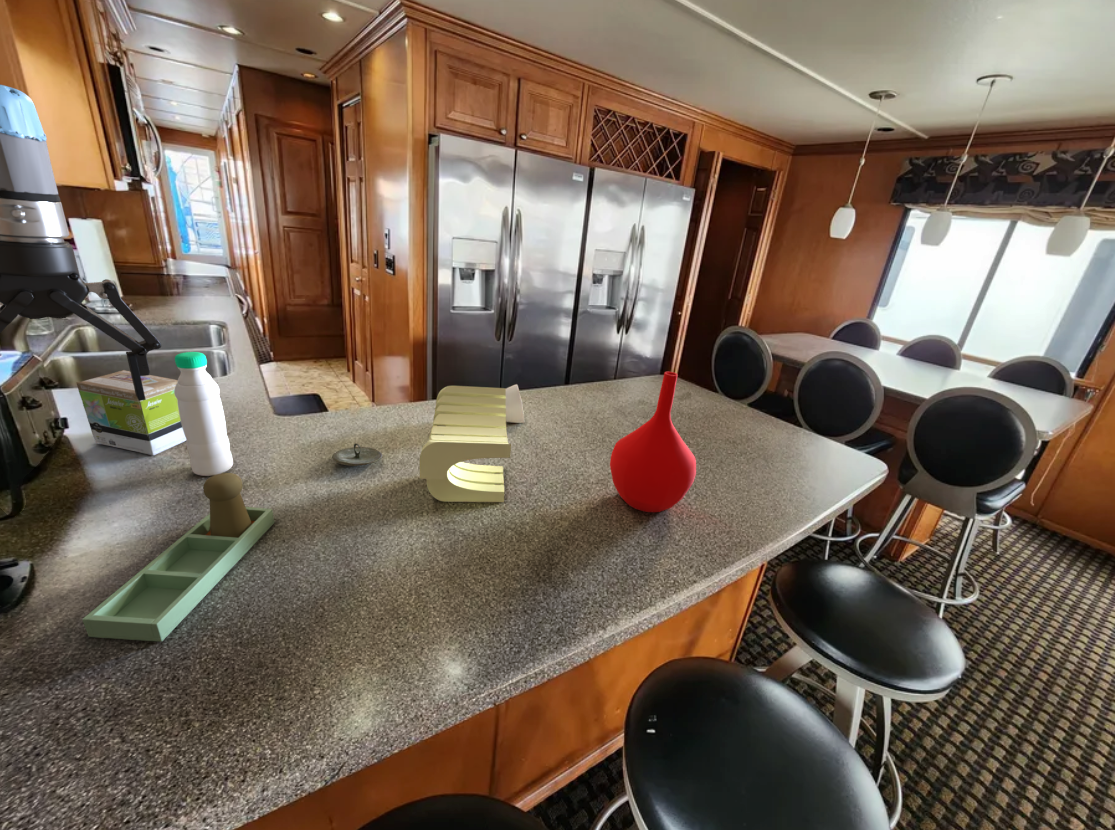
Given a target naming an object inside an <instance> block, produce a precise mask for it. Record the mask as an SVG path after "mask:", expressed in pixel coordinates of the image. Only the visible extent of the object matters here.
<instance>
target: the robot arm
mask: <svg viewBox="0 0 1115 830" xmlns="http://www.w3.org/2000/svg"><path fill="white" fill-rule="evenodd" d="M47 140H48V139H47V134H46V133H45V132H44V129H43V125H42V123H41V121H40V118H39V114H38V111H37V109H36V106H35V104H34V102H33V100H32V98H31V97H30V96H29V95H27V94H26V93H25V92H23V91H22V90H19V89H17V88H14V87H11V86H7V85H4V84H0V303H1V306H0V334H1V333H2V332H3V331H4V330H5V329H6V328H7V327H8V326H9V325H10V324H11V323H13V321H14V320H16V318H17V317H18V316H20V317H22V318H26V319H29V320H41V319H46V318H50V319H51V318H52V319H67V318H68V317H71V316H73V315H76V316H77V317H78V318H80V319H82V320H83V321H85V322H87V323H89V325H92V326H93V327H95V328H96V329H98V330H99V331H101V332H102V333H104V334H105V335H107V336H108V337H110V338H111V339H113V340H114V341H116V343H117V342H118V343H119V344H121V345H122V346H123V347H125V348H127V349H128V350H129V351H125V355H126V359H127V363H128V367H129V371H130V372H131V376H132V381H133V385H134V389H135V394H136V396H137V398H138V400H139V401H141V400H146V399H145V394H144V390H143V385H142V381H141V376H147V375H150V373H151V370H150V366H149V361H148V357H147V355H148V353H149V352H151V351H153V350H159V349H161V348H162V343H161V342H160V341H159V339H158V338H157V336H156V335H154V333H153V332H152V331H151V330H150V329H149V328H148V327H147V326H146V324H144V322H143V321H142V320H141V319H140V318H139V316H137V314H135V312H134V311H133V310H132V309H131V308H130V307H129V306H128V305H127V303H126V302H125V301H124V300H123V299H122V298H121V296H120V292H119V290H118V287H117V285H116V284H115V282H114V281H112V280H111V279H103V280H102V281H96V282H95V281H94V282H85V281H84V280H83V279H82V277H81V275H80V271H79V267H78V263H77V257H76V255H75V252H74V247H73V244H70V242H69V241H65V239H66V238H68V237H69V236H70V232H69V227H68V223H67V220H66V216H65V212H64V207H63V204H62V202H61V198H60V195H59V190H58V187H57V183H56V178H55V174H54V170H53V166H52V162H51V158H50V152H49V148H48V143H47ZM90 293H93V294H96V295H97V296H98V297H99V298H100V299H102V300H108V301H109V303H110V304H111V306H113V308H114V309H115V310H116V311H117V312H118V313H119V314H120V315H121V316H122V317H123V319H125V320H126V323H128V324H129V325H130V326H131V327H132V328H133V329H134V330H135V331H136V333H137V334H138V335H139V336H140V337H141V338H142V340H141V341H138V340H136V339H135V338H133V337H132V336H131V335H129V334H128V333H126V332H124V331H123V329H120V328H119V327H118V326H116V325H115V324H113V323H111V322H110V321H108V320H107V319H105V318H104V317H103V316H101V315H100V314H98V313H97V312H95V311H94V310H93V309H91V307H89V306H88V305H86V304H85V303H83V302H84V301H85V299H86V298H87V297H88V295H89V294H90Z"/></svg>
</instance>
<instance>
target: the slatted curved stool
mask: <svg viewBox="0 0 1115 830" xmlns="http://www.w3.org/2000/svg"><path fill="white" fill-rule="evenodd" d="M506 388H507V387H506ZM506 388H504V387H486V386H470V385H469V386H467V385H447V386H445V387H443V388H442V389H441V390H440V391H438V394H437V397H436V399H435V400H436V401H435V407H434V414H433V419H432V421H433V422H432V425H431V429H430V432H429V435H428V439H427V441H426V443H425V444H424V445H423V446H422V449H421V451H420V455H419V463H418V464H419V480H426V481H425V482H426V488H427V490H428V492H429V494H430V495H431V496H432V497H433V498H434V499H436V500H438V501H440V502H444V503H445V502H446V503H447V502H449V503H450V502H451V503H453V502H454V503H455V502H456V503H461V502H462V503H505V485H504V484H505V481H504V480H505V479H504V466H503V465H485V464H483V465H482V464H475V463H469V462H466V461H471V460H472V461H473V460H480V459H511V454H512V453H511V452H512V443H509V440H508V434H507V433H508V432H507V431H508V430H507V422H506V408H505V407H506V398H505V396H506Z"/></svg>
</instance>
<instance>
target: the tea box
mask: <svg viewBox="0 0 1115 830" xmlns="http://www.w3.org/2000/svg"><path fill="white" fill-rule="evenodd" d="M141 381H142V385H143V390H144V394H145V399H146V400H141V401H139V400H138V398H137V396H136V394H135V389H134V385H133V381H132V376H131V372H130V370H126V369H123V370H119V371H115V372H112V373H108V374H104V375H101V376H97V377H94V378H90V379H86V380H82V381H77V382H76V386H77V389H78V390H77V391H78V393H79V396H80V399H81V402H82V406H83V409H84V412H85V415H86V418H87V421H88V425H89V427H90V431H91V434H92V438H93V440H94V442H95V444H97V445H104V446H109V447H113V448H118V449H124V450H127V451H132V452H137V453H141V454H144V455H149V456H155V455H157V454H160V453H163V452H165V451H167V450H169V449H172V448H173V447H175V446H178V445H180V444H183V443H184V442H187V440H186V437H185V435H184V431H183V428H182V424H181V420H180V415H179V409H178V401H177V398H176V397H175V394H174V389H175V386H176V384H177V382H178V379H174V378H168V377H163V376H159V375H158V376H157V375H151V374H149V375H147V376H141Z"/></svg>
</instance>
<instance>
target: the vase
mask: <svg viewBox="0 0 1115 830" xmlns="http://www.w3.org/2000/svg"><path fill="white" fill-rule="evenodd" d="M678 376H679V375H678V373H676V372H673V371H664V373H663V378H662V381H661V386H660V390H659V395H658V399H657V405H656V409H655V412H654V414H653V415H652V416H651V418H650V419H649V420H648V421H646V422H645V423H643V424H642V425H640V426H639V427H638V428H636V429H634V431H632V432H630V433H628V434H627V435H625V436H622V438H620V439H619V440H617V441H616V443H615V444H614V447H613V449H612V451H611V455H610V460H609V461H610V462H609V467H610V473H611V478H612V483H613V485H614V486H613V487H615V490H616V491H617V493H618V495H619V496H620V497H621V499H622V500H623V501H624V502H625V503H626V504H627V505H628V506H630V507H631V508H633V509H635V510H638V511H641V512H645V513H653V514H654V513H660V512H664V511H667V510H669V509H671V508H673V507H674V506H675V505H677V504H679V502H680V501H682V500H683V499H684V497H685V496H686V495H687V493H688V491H689V490H690V488H691V487H692V486H693V484H694V482H695V480H696V479H695V478H696V475H697V460H696V459H697V458H696V457H695V455H694V453H693V452H692V451H691V449H690V448H689V447H688V445H687V444H686V443H685V441H684V439H682V437H681V435H680V434H679V432H678V430H677V429H676V428H675V426H674V424H673V421H672V415H671V412H672V408H673V407H672V406H673V403H674V398H675V392H676V386H677V380H678Z"/></svg>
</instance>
